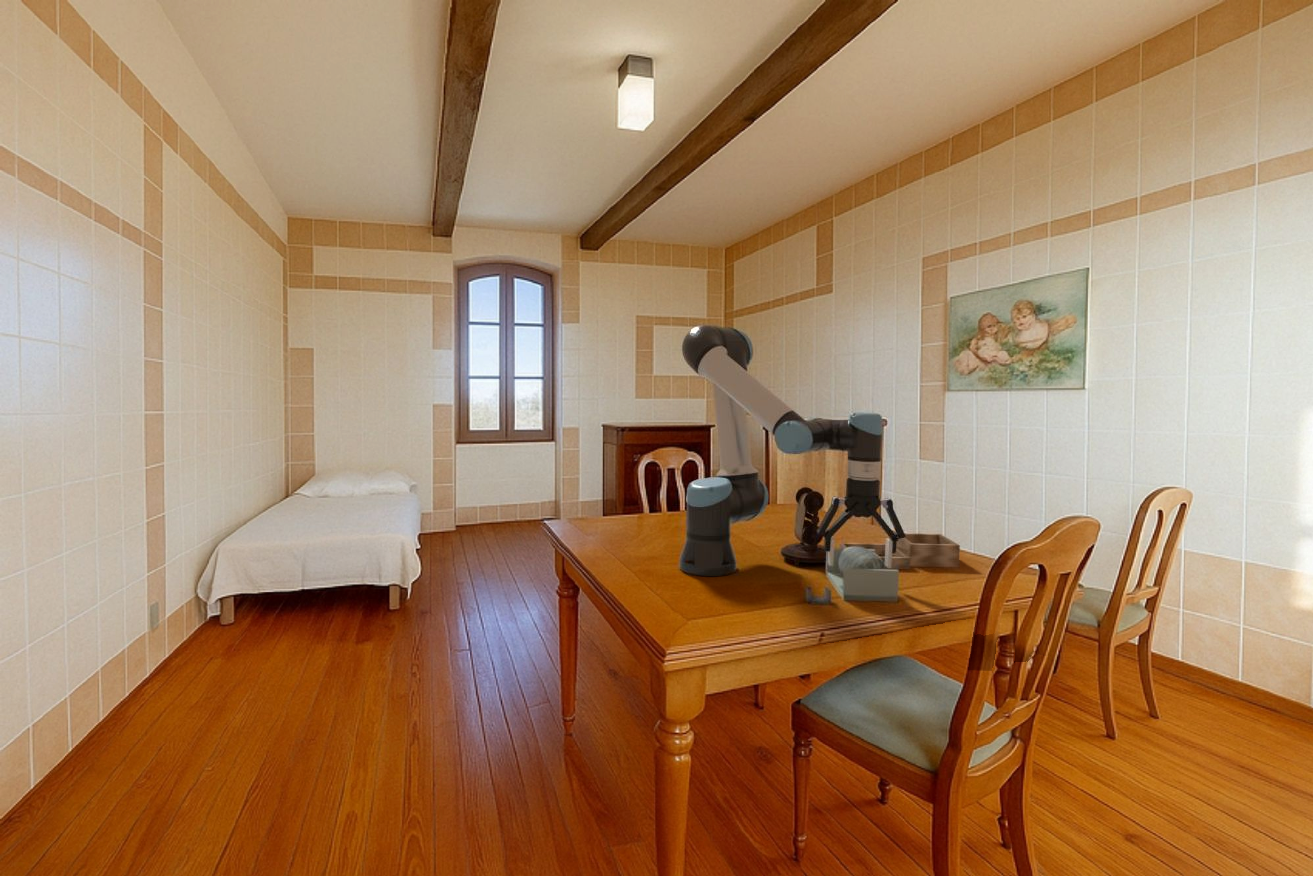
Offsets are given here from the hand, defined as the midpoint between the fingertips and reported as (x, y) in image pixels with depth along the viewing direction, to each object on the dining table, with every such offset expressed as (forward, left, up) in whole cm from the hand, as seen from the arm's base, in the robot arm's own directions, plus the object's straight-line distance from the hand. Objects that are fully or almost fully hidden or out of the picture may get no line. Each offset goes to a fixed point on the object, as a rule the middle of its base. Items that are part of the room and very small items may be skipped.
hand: (859, 565), depth 151 cm
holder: (0, 0, -5) cm, 5 cm away
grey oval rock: (0, 0, -4) cm, 4 cm away
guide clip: (-12, -11, -5) cm, 17 cm away
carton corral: (+25, +26, -5) cm, 36 cm away
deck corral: (+10, +24, -5) cm, 26 cm away
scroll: (-8, +23, -6) cm, 25 cm away
